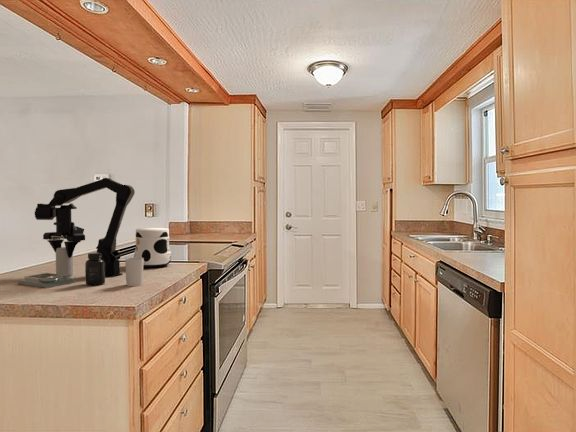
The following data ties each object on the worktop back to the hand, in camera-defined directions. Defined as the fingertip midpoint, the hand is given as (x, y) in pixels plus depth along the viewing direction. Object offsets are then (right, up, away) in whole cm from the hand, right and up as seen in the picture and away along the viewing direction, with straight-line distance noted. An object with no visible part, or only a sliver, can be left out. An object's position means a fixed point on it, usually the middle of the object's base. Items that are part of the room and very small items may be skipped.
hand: (64, 257), depth 179 cm
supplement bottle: (+20, -9, -16) cm, 27 cm away
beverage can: (0, -8, 0) cm, 8 cm away
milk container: (+28, -7, +28) cm, 40 cm away
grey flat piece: (+1, -9, -14) cm, 17 cm away
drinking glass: (+35, -9, -16) cm, 40 cm away
